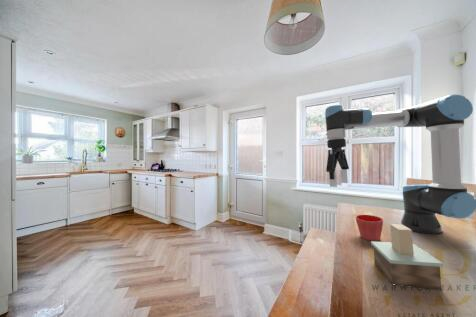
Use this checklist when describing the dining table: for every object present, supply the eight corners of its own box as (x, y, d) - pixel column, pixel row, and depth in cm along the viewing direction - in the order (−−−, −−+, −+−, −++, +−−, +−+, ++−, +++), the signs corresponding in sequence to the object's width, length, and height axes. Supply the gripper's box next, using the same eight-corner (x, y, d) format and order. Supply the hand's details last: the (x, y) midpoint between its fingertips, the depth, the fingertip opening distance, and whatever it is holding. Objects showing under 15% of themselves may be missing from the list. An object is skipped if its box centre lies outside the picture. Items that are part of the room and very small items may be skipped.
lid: (413, 248, 65) (410, 220, 66) (443, 270, 53) (440, 235, 53) (371, 246, 69) (369, 220, 69) (390, 266, 56) (388, 233, 56)
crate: (413, 266, 65) (412, 246, 65) (441, 289, 53) (439, 265, 53) (374, 263, 68) (373, 244, 68) (393, 285, 56) (391, 262, 56)
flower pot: (386, 244, 82) (384, 222, 82) (357, 240, 88) (355, 219, 88) (382, 235, 91) (381, 215, 91) (356, 232, 97) (355, 213, 97)
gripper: (337, 140, 96) (340, 181, 96) (315, 139, 80) (319, 187, 79) (353, 139, 91) (356, 181, 90) (333, 136, 74) (337, 189, 74)
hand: (339, 184), depth 85 cm, fingers open, 13 cm apart
